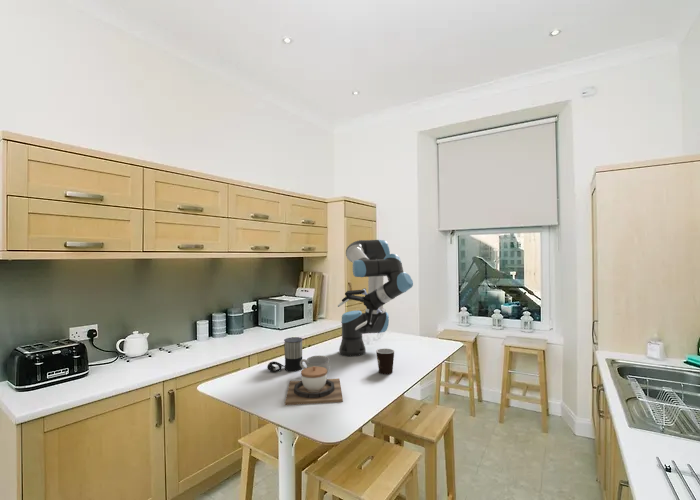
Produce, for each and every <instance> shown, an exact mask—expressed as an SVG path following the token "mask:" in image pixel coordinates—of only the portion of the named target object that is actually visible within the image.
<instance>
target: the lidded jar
mask: <svg viewBox="0 0 700 500" xmlns="http://www.w3.org/2000/svg"><path fill="white" fill-rule="evenodd" d="M300 371H301V372H300V374H301V381H302V383H303V386H304V387H305V388H306V389H307V391H309V392H319V391H321V390H322V388H323V387H324V386H325V384H326V380H327V379H328V373H327V369H326V368H324V367H315V366H313V367H308V368H307V367H306V368H305V369H302V370H300Z"/></svg>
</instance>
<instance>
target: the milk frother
mask: <svg viewBox="0 0 700 500" xmlns="http://www.w3.org/2000/svg"><path fill="white" fill-rule="evenodd" d="M303 340H304V339H303V338H302V337H299V336H298V337H297V336H295V337H294V336H292V337H286V338H285V339H284V340H283V341H284V342H283V343H284V344H283V345H284V346H283V347H284V365H283V364H282V363H280V362H277V361H270V362H269V363H268V364H267V367H266V369H267V370H268V371H270V372H271V373H278V372H280V371H281V370H282V367H283V368H284V370H285V371H286V372H291V373H292V372H293V373H294V372H300V371H302V370H303V368H302V367H301V366H300V361H301V360H302V359H303ZM274 365H276V366H277V367H279V368H277V369H276V366H274Z"/></svg>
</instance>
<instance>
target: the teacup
mask: <svg viewBox="0 0 700 500" xmlns="http://www.w3.org/2000/svg"><path fill="white" fill-rule="evenodd" d="M303 362H304V363H305V365H306V367H305V365H303ZM300 366H301V367H302V368H303V369H305V368H308V367H313V366H315V367H324V368H326V369H327V374H328V373H329V372H330V358H329V357H328V356H326V355H313V356H310V357H308V358H302V360H301V361H300ZM303 369H302V370H303Z"/></svg>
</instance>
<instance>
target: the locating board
mask: <svg viewBox="0 0 700 500" xmlns="http://www.w3.org/2000/svg"><path fill="white" fill-rule="evenodd" d="M341 386H342V385H341V381H340V378H339V377H338V378H327V380H326V384H325V386H324V387H323V388H322V390H321V391H319V392H309V391H307V389H306V388H305V387H304V386H303V383H302V380H290V381H289V384H288V388H287V393H286V396H285V401H284V406H295V405H311V404H325V403H326V404H330V403H344V402H343V401H344V398H343V393H342V387H341Z"/></svg>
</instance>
